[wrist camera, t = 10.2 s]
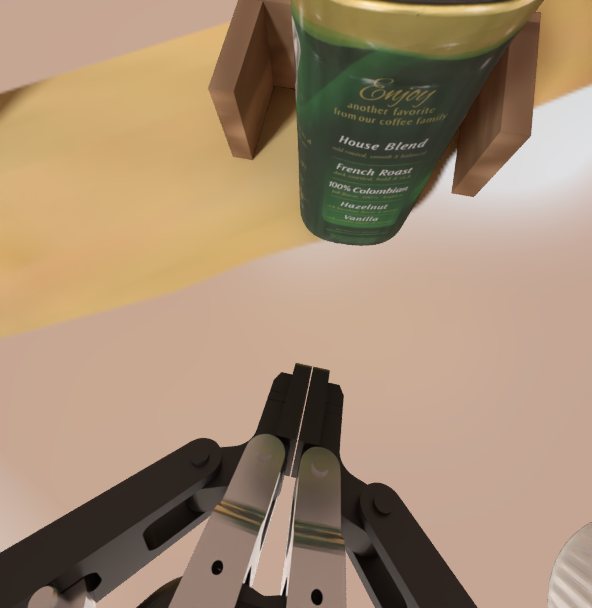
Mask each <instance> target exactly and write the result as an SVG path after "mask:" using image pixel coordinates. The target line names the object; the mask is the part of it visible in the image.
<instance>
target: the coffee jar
mask: <svg viewBox="0 0 592 608" xmlns="http://www.w3.org/2000/svg"><path fill="white" fill-rule="evenodd" d="M543 1H544V0H291V12H292V28H293V47H294V67H295V90H296V111H297V131H298V153H299V187H300V210H301V216H302V219H303V222H304V224H305V225H306V227H307V228H308V230H309V231H310V232H312V233H313V234H314V235H316V236H317V237H319V238H321V239H324V240H327V241H331V242H334V243H341V244H347V245H360V246H362V245H376V244H380V243H383V242H385V241H387V240H389V239H391V238H392V237H393V236H395V235H396V233H397V232H398V231H399V230H400V228H401V227H402V225H403V223H404V222H405V220H406V219H407V217H408V215H409V214H410V212H411V210H412V208H413V207H414V205H415V203H416V201H417V200H418V198H419V196H420V194H421V192H422V190H423V189H424V187H425V185H426V183H427V181H428V180H429V178H430V176H431V174H432V172H433V171H434V169H435V167H436V165H437V164H438V162H439V160H440V159H441V157H442V155H443V153H444V152H445V150H446V148H447V147H448V145H449V143H450V141H451V140H452V138H453V136H454V135H455V133H456V131H457V130H458V128H459V126H460V125H461V123H462V121H463V120H464V118H465V116H466V114H467V113H468V111H469V109H470V108H471V106H472V104H473V102H474V100H475V99H476V97H477V96H478V94H479V92H480V90H481V89H482V87H483V85H484V84H485V82H486V80H487V79H488V77H489V75H490V74H491V72H492V70H493V69H494V67H495V66H496V64H497V63H498V61H499V60H500V58H501V57H502V55H503V54H504V52H505V51H506V49H507V48H508V46H509V45H510V43H511V42H512V41H513V39H514V38H515V37H516V35H517V34H518V33H519V31H520V30H521V29H522V27H523V26H524V25H525V23H526V22H527V21H528V20H529V19H530V17H531V16H532V15H533V13H534V12H535V11H536V10H537V8H538V7H539V6H540V5H541V3H542V2H543Z"/></svg>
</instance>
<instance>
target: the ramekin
mask: <svg viewBox="0 0 592 608" xmlns="http://www.w3.org/2000/svg"><path fill="white" fill-rule="evenodd" d="M548 608H592V522H591V523H589V524H587V525H586V526H584V527H583V528H581V529H580V530H578V531H577V532H576V533H575V534H574V535H573V536H572V537H571V538H570V539H569V540H568V541H567V542H566V544H565V545H564V547H563V548H562V550H561V551H560V553H559V555H558V557H557V559H556V561H555V564H554V567H553V570H552V573H551V578H550V583H549V591H548Z"/></svg>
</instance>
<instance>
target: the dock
mask: <svg viewBox="0 0 592 608" xmlns="http://www.w3.org/2000/svg"><path fill="white" fill-rule="evenodd" d="M540 17H541V12H534V13H533V15H532V16H531V17H530V19H529V20H528V21H527V22H526V23H525V25H524V26H523V27H522V29H521V30H520V31H519V33H518V34H517V35H516V37H515V38H514V39H513V41H512V42H511V43H510V45H509V46H508V48H507V49H506V51H505V52H504V54H503V55H502V57H501V58H500V60H499V61H498V63H497V64H496V66H495V67H494V69H493V70H492V72H491V74H490V75H489V77H488V79H487V80H486V82H485V84H484V85H483V87H482V89H481V90H480V92H479V94H478V96H477V97H476V99H475V100H474V102H473V104H472V106H471V108H470V109H469V111H468V113H467V114H466V116H465V118H464V120H463V121H462V123H461V127H460V135H459V142H458V149H457V157H456V164H455V172H454V179H453V186H452V193H453V194H459V195H466V196H471V197H474V196H475V195H476V194H477V193H478V192H479V191H480V190H481V189H482V187H483V186H484V185H485V184H486V183H487V182H488V181H489V180H490V179H491V178H492V177H493V176H494V175H495V174H496V172H498V170H499V169H500V168H501V167H502V166H503V165H504V164H505V163H506V162H507V161H508V160H509V159H510V158H511V156H512V155H513V154H514V153H515V152H516V151H517V150H518V149H519V148H520V147H521V146H522V145H523V144H524V143H525V142H526V140H527V139H528V138H529V137H530V136H531V128H532V116H533V103H534V91H535V79H536V66H537V54H538V41H539V29H540ZM274 86H279V87H286V88H293V89H295V67H294V47H293V28H292V12H291V0H238V3H237V6H236V9H235V12H234V14H233V17H232V20H231V23H230V26H229V29H228V32H227V35H226V38H225V41H224V44H223V46H222V49H221V52H220V55H219V58H218V61H217V64H216V67H215V70H214V73H213V76H212V79H211V82H210V85H209V87H208V89H209V92H210V95H211V97H212V100H213V103H214V106H215V108H216V111H217V114H218V116H219V119H220V122H221V125H222V127H223V130H224V133H225V136H226V138H227V141H228V144H229V147H230V149H231V152H232V155H233V157H239V158H245V159H251V160H253V156H254V153H255V149H256V146H257V142H258V139H259V135H260V132H261V128H262V125H263V122H264V118H265V115H266V111H267V108H268V104H269V101H270V97H271V94H272V91H273V87H274Z"/></svg>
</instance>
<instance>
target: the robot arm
mask: <svg viewBox="0 0 592 608" xmlns="http://www.w3.org/2000/svg"><path fill="white" fill-rule="evenodd" d="M311 369H312V366H308V365H303V364H299V363H296V364H295V368H294V371H293V375H292V374H287V373H283V372H281V373H280V374H279V375H278V376H277V377H276V378H275V379H274V381H273V384H272V387H271V390H270V393H269V396H268V399H267V402H266V405H265V408H264V411H263V413H262V416H261V419H260V422H259V425H258V428H257V430H256V433H255V434H254V436H253V437H252V438H251V439H250V440H249V441H247V442H246V443H244V444H242V445H239V446H232V447H219V445H218V444H217V443H216V442H215V441H213V440H211V439H207V438H200V439H196V440H193V441H191V442H189V443H188V444H186V445H184V446H183V447H181V448H179V449H177V450H176V451H174V452H172V453H171V454H169V455H167V456H166V457H164V458H162V459H160V460H159V461H157V462H155V463H154V464H152V465H150V466H148V467H147V468H145V469H143V470H141V471H140V472H138V473H137V474H135V475H133V476H131V477H129V478H128V479H126V480H124V481H123V482H121V483H119V484H118V485H116V486H114V487H112V488H111V489H109V490H107V491H106V492H104V493H102V494H100V495H99V496H97V497H95V498H94V499H92V500H90V501H88V502H87V503H85V504H83V505H82V506H80V507H78V508H76V509H75V510H73V511H71V512H69V513H68V514H66V515H64V516H63V517H61V518H59V519H57V520H56V521H54V522H52V523H51V524H49V525H47V526H45V527H44V528H42V529H40V530H39V531H37V532H35V533H33V534H32V535H30V536H29V537H27V538H25V539H23V540H21V541H20V542H18V543H16V544H15V545H13V546H11V547H9V548H8V549H6V550H4V551H3V552H1V553H0V608H96V603H97V602H98V601H99V600H101V599H102V598H103V597H104V596H106V595H107V594H108V593H110V592H111V591H112V590H114V589H115V588H116V587H118V586H119V585H120V584H122V583H123V582H124V581H126V580H127V579H128V578H129V577H131V576H132V575H133V574H135V573H136V572H137V571H139V570H140V569H141V568H142V567H144V566H145V565H146V564H148V563H149V562H150V561H152V560H153V559H154V558H156V557H157V556H158V555H160V554H161V553H162V552H163V551H165V550H166V549H167V548H169V547H170V546H171V545H172V544H174V543H175V542H177V541H178V540H179V539H180V538H182V537H183V536H184V535H186V534H187V533H188V532H190V531H191V530H192V529H193V528H195V527H196V526H197V525H199V524H200V523H201V522H203V521H204V520H205V519H207V518H208V517H209V516H210V518H209V520H208V522H207V525H206V527H205V529H204V531H203V533H202V535H201V538H200V540H199V542H198V544H197V546H196V549H195V551H194V553H193V555H192V557H191V560H190V562H189V564H188V566H187V568H186V570H185V573H184V575H183V576H182V577H179V578H176V579H174V580H172V581H170V582H168V583H166V584H165V585H163V586H162V587H160V588H159V589H158V590H157V591H155V592H154V593H153V594H152V595H150V596H149V597H148V598H147V599H146V600H144V601H143V602H142V603H141V604H140V605H139V606H138V607H136V608H346V559H345V550H346V552H347V554H348V556H349V558H350V559H351V561H352V563H353V565H354V567H355V569H356V571H357V573H358V575H359V577H360V579H361V581H362V583H363V585H364V587H365V589H366V591H367V593H368V595H369V597H370V599H371V601H372V602H373V604H374V606H375V608H477V606H476V605H475V604H474V602H473V601H472V599H471V598H470V596H469V595H468V594H467V592H466V591H465V589H464V588H463V586H462V585H461V584H460V582H459V581H458V579H457V578H456V576H455V575H454V574H453V572H452V571H451V570H450V568H449V567H448V565H447V564H446V562H445V561H444V560H443V558H442V557H441V555H440V554H439V552H438V551H437V550H436V548H435V547H434V545H433V544H432V543H431V541H430V540H429V538H428V537H427V536H426V534H425V533H424V531H423V530H422V528H421V527H420V526H419V524H418V523H417V521H416V520H415V519H414V517H413V516H412V514H411V513H410V512H409V510H408V509H407V507H406V506H405V504H404V503H403V501H402V500H401V499H400V497H399V496H398V495H397V493H396V492H395V491H394V490H393V489H391V488H390V487H389V486H387V485H384V484H382V483H371V484H368V485H367V484H365V483H364V482H362V481H361V480H359V479H357V478H356V477H354V476H353V475H351V474H350V473H349V472H348V471H347V470H346V468H345V467H344V465H343V464H342V461H341V458H340V453H339V451H340V436H341V423H342V410H343V409H342V408H343V398H344V395H343V393H342V390H341V388H340V385H337V384H332V383H328V380H329V370H326V369H322V368H317V367H313V372H312V377H311V381H310V386H309V391H308V396H307V401H306V406H305V411H304V415H303V420H302V425H301V431H300V435H299V440H298V445H297V450H296V455H295V460H294V465H293V470H292V475H291V477H295V478H296V482H295V488H294V493H293V497H292V503H291V512H290V520H289V528H288V537H287V545H286V554H285V562H284V569H283V575H282V581H281V589H280V595H278V596H263V595H261V594H260V593H258V592H257V591H255V590H254V589H253V588H252V584H253V581H254V578H255V574H256V571H257V567H258V563H259V558H260V555H261V551H262V548H263V544H264V541H265V538H266V535H267V531H268V528H269V525H270V521H271V518H272V515H273V512H274V508H275V505H276V502H277V498H278V496H279V494H280V491H281V487H282V482H283V478H284V475H286V476H289V475H290V471H291V466H292V461H293V456H294V452H295V447H296V442H297V438H298V433H299V427H300V423H301V418H302V414H303V409H304V404H305V399H306V394H307V389H308V384H309V379H310V374H311Z"/></svg>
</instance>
